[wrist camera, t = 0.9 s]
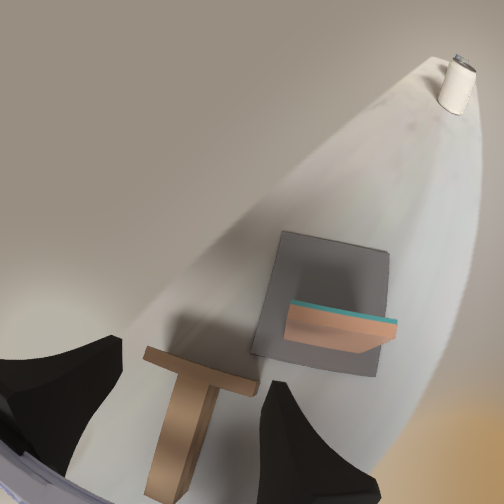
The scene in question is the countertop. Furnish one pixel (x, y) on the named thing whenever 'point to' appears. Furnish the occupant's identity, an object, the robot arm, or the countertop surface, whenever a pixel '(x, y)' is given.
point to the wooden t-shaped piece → (186, 422)
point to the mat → (322, 299)
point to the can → (457, 86)
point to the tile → (337, 328)
